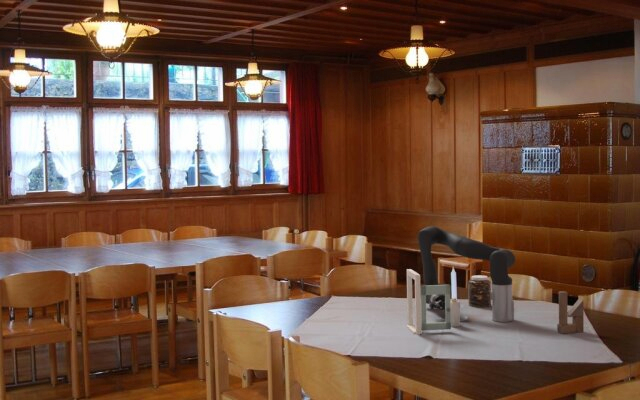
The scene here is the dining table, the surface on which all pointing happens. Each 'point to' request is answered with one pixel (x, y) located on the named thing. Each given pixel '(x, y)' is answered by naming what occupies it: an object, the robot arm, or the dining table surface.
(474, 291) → the jar
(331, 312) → the dining table surface
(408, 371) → the dining table surface
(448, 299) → the grey-green rectangular frame
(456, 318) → the white candle
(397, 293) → the dining table surface
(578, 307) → the wooden braced frame
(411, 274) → the door frame
